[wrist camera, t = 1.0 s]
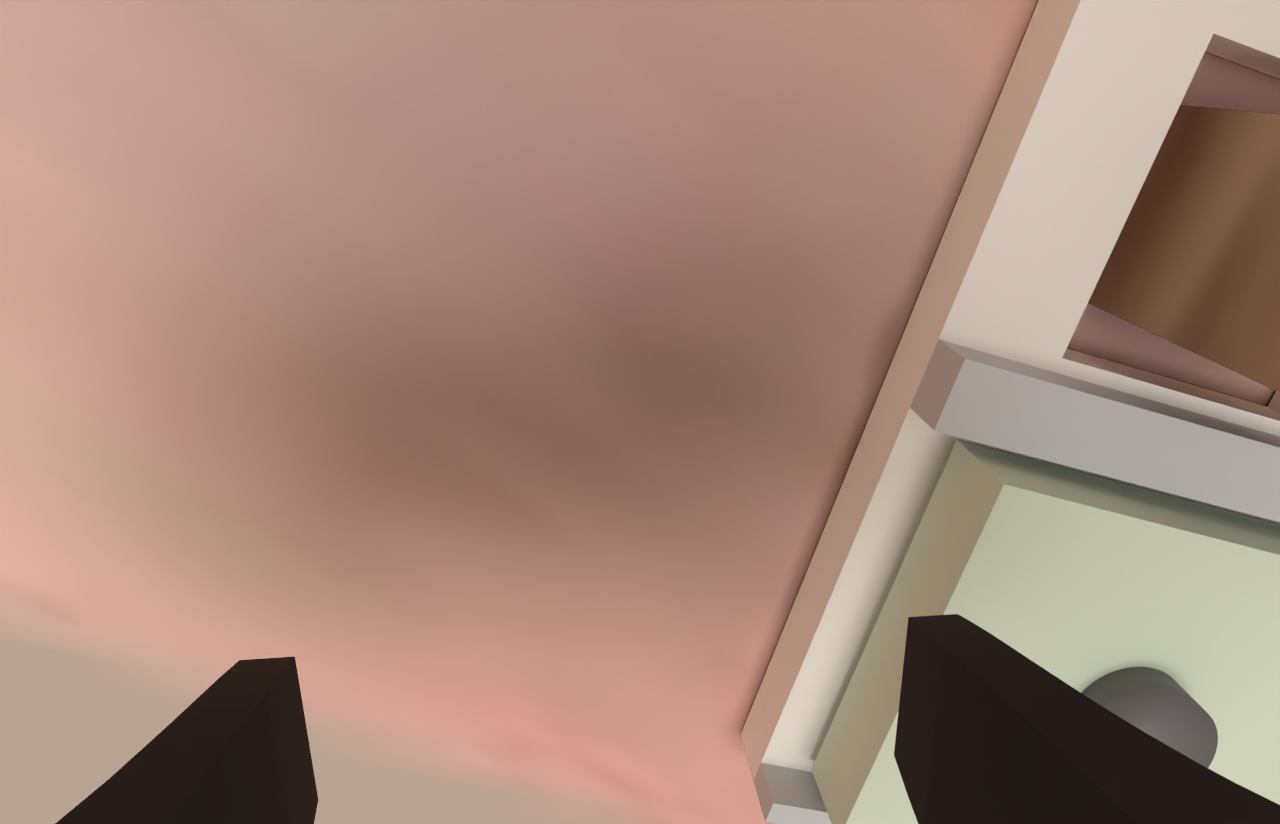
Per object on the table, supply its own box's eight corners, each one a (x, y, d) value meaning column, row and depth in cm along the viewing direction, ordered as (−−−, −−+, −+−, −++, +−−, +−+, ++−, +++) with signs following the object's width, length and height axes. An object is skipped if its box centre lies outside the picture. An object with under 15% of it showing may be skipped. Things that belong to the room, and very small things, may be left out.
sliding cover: (1340, 540, 20) (1471, 621, 17) (1162, 834, 22) (1251, 945, 20) (957, 439, 18) (1032, 510, 15) (811, 769, 21) (853, 881, 18)
